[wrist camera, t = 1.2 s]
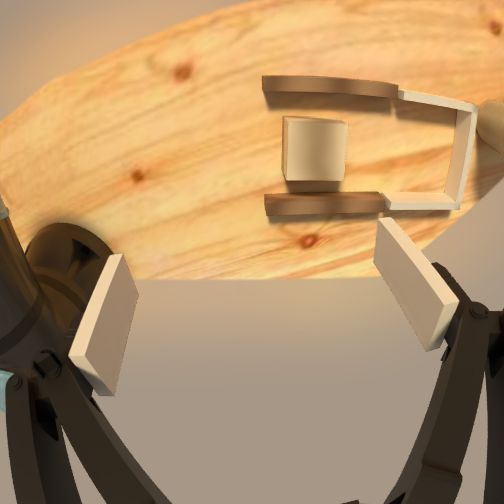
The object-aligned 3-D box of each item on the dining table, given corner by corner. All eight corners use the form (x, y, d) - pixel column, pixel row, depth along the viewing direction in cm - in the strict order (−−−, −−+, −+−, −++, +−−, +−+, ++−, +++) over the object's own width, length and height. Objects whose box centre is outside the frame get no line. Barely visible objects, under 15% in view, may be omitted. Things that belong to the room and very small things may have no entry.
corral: (380, 199, 38) (389, 209, 35) (391, 87, 30) (404, 90, 27) (447, 199, 38) (459, 209, 36) (464, 101, 30) (478, 105, 28)
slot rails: (264, 206, 38) (266, 215, 35) (262, 75, 29) (264, 76, 27) (376, 202, 38) (383, 211, 36) (388, 82, 30) (398, 85, 28)
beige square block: (281, 167, 35) (286, 180, 32) (282, 115, 32) (288, 122, 29) (332, 168, 36) (343, 180, 32) (336, 117, 32) (348, 124, 29)
